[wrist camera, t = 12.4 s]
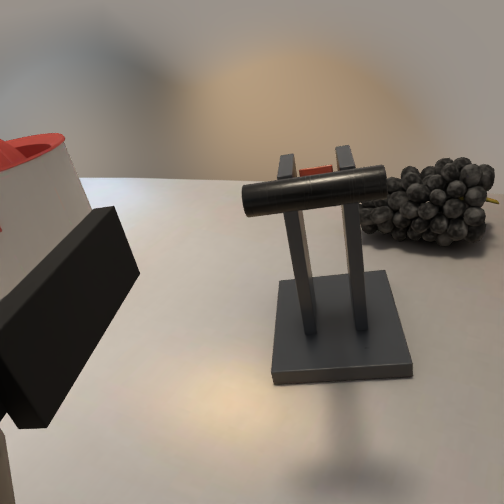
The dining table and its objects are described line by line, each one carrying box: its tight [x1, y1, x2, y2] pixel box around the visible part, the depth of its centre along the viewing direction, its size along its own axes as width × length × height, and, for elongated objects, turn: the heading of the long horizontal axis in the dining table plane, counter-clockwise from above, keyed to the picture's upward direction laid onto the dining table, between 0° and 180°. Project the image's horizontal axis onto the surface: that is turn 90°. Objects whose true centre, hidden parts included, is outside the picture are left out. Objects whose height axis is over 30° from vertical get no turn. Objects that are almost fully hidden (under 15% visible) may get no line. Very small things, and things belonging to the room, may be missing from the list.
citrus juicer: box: [0, 133, 92, 300], centre depth 45 cm, size 16×17×20 cm
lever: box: [242, 165, 388, 217], centre depth 25 cm, size 14×6×2 cm, turn 174°
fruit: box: [358, 157, 499, 246], centre depth 45 cm, size 9×8×15 cm
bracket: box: [271, 145, 413, 384], centre depth 33 cm, size 12×10×15 cm
